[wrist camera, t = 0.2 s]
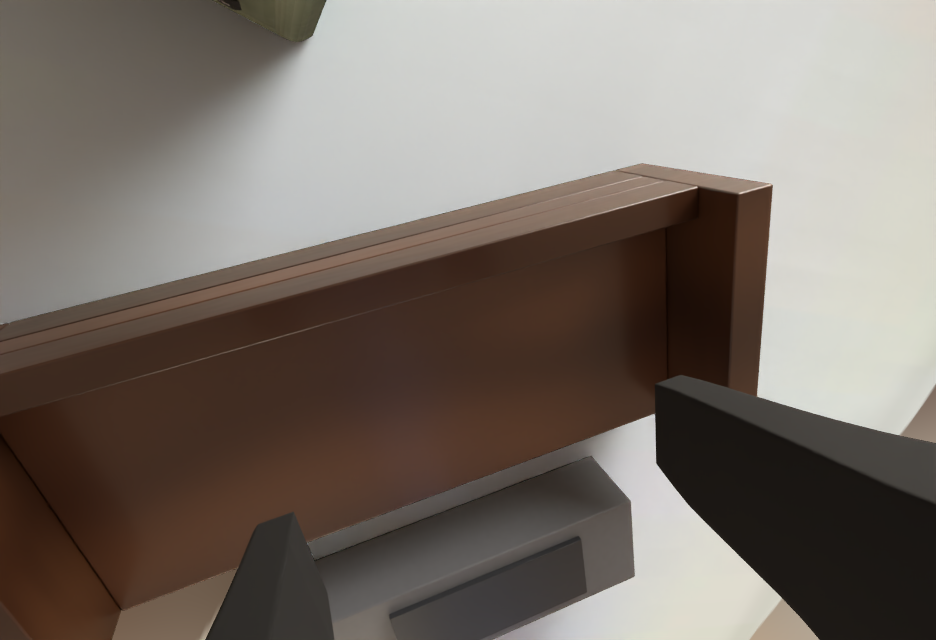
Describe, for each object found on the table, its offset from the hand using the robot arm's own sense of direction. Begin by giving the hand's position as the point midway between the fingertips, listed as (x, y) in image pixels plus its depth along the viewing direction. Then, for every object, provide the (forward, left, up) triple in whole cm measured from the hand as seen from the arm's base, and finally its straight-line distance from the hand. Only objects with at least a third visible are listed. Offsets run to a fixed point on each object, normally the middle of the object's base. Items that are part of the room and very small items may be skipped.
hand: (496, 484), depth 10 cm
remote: (-12, +1, -10) cm, 16 cm away
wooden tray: (-2, +1, -10) cm, 10 cm away
